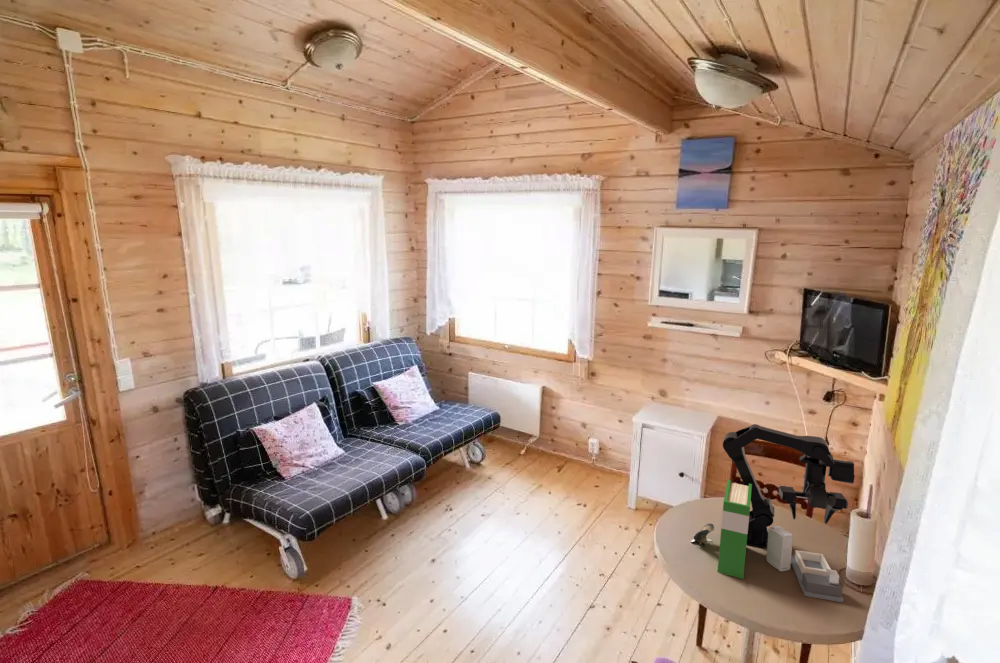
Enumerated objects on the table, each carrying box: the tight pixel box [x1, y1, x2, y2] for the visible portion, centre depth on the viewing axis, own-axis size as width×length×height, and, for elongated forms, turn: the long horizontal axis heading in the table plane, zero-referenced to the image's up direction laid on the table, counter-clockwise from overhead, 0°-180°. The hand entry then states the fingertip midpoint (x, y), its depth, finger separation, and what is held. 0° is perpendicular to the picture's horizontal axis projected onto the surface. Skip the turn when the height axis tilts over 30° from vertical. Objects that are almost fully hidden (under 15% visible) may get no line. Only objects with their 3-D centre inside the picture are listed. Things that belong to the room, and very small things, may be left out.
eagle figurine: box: [690, 523, 715, 549], centre depth 178 cm, size 8×7×9 cm
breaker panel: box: [791, 549, 844, 603], centre depth 163 cm, size 10×20×4 cm, turn 164°
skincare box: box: [766, 525, 794, 572], centre depth 168 cm, size 6×4×12 cm
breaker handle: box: [826, 568, 840, 585], centre depth 155 cm, size 2×3×3 cm
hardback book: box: [717, 478, 752, 580], centre depth 170 cm, size 18×7×24 cm, turn 153°
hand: (809, 521), depth 172 cm, fingers open, 9 cm apart
